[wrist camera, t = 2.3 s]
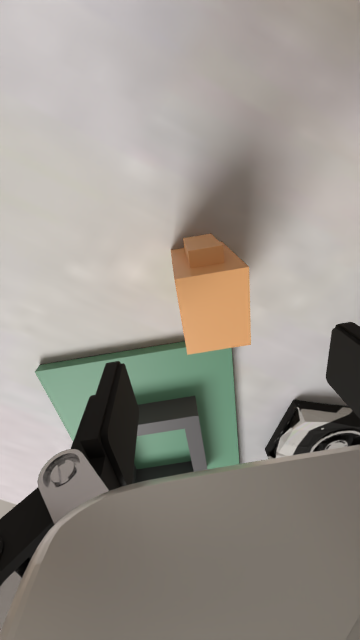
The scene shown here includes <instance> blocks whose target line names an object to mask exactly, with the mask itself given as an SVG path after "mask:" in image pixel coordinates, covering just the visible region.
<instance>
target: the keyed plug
mask: <svg viewBox="0 0 360 640" xmlns="http://www.w3.org/2000/svg"><path fill="white" fill-rule="evenodd" d="M183 242H184V248H180V249H174V250H171V256H172V264H173V271H174V279H175V285H176V291H177V297H178V303H179V308H180V314H181V320H182V326H183V332H184V338H185V344H186V349H187V355H189V354H196V353H202V352H208V351H214V350H220V349H226V348H233V347H239V346H245V345H251V333H250V288H249V266H248V265H246V264H245V263H244V262H243V261H242V260H241V259H240V258H239V257H238V256H237V255H236V254H235V253H234V252H232V251H231V250H230V249H229V248H228V247H227V246H226V245H225V244H224V243H223V242H222V241H221V242H219V241H218V240H217V239H216V238H215V237H214V236H213V235H212V234H205V235H199V236H193V237H187V238H183Z"/></svg>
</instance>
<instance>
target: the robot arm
mask: <svg viewBox="0 0 360 640" xmlns="http://www.w3.org/2000/svg"><path fill="white" fill-rule="evenodd" d="M326 379H327V382H328V383H329V385H330V386H331V387H332V388H333V389H334V390H335V392H336V393H337V394H338V395H339V396H340V397H341V398H342V399H343V401H344V402H345V403H346V404H347V405H348V406H349V407H350V408H351V410H352V411H353V412H354V413H355V414H356V415H357V416H358V417H359V419H360V327H359V326H358V325H356V324H355V323H353V322H348V323H342V324H338V325H336V327H335V328H334V329H333V330H332V335H331V342H330V349H329V357H328V364H327V372H326ZM138 421H139V408H138V404H137V401H136V398H135V395H134V392H133V388H132V385H131V382H130V379H129V375H128V372H127V369H126V366H125V364H124V363H122V364H121V363H120V361H115V362H109V363H106V364H105V367H104V370H103V373H102V376H101V379H100V382H99V385H98V388H97V391H96V394H95V395H91V396H90V397H89V399H88V402H87V405H86V408H85V410H84V413H83V416H82V419H81V422H80V424H79V427H78V430H77V433H76V436H75V438H74V441H73V444H72V447H71V449H68V450H65V451H62V452H60V453H58V454H56V455H55V456H53V457H52V458H51V459H50V460H49V461H48V462H47V463H46V464H45V465H44V467H43V468H42V470H41V472H40V474H39V477H38V481H37V482H38V488H37V489H35V490H34V491H33V492H32V493H31V494H30V495H28V496H27V497H26V498H25V499H24V500H22V501H21V502H20V503H19V504H18V505H16V506H15V507H14V508H13V509H12V510H11V511H9V512H8V513H7V514H6V515H5V516H3V517H2V518H1V519H0V630H1V631H0V640H360V445H354V446H348V447H341V448H335V449H329V450H322V451H316V452H310V453H304V454H298V455H292V456H285V457H279V458H273V459H267V460H261V461H255V462H249V463H243V464H237V465H231V466H225V467H219V468H213V469H207V470H201V471H195V472H189V473H184V474H179V475H173V476H168V477H163V478H157V479H152V480H147V481H142V482H138V483H134V484H132V479H133V469H134V460H135V450H136V440H137V430H138Z"/></svg>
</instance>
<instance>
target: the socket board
mask: <svg viewBox="0 0 360 640" xmlns="http://www.w3.org/2000/svg"><path fill="white" fill-rule="evenodd" d="M115 361H120V363H121V364H122V363H124V364H125V366H126V369H127V372H128V375H129V379H130V382H131V385H132V388H133V392H134V395H135V398H136V401H137V404H138V408H139V421H138V430H137V440H136V450H135V460H134V469H133V479H132V484H134V483H138V482H142V481H147V480H152V479H157V478H163V477H168V476H173V475H179V474H184V473H189V472H195V471H201V470H207V469H213V468H219V467H225V466H231V465H237V464H239V452H238V437H237V422H236V407H235V392H234V377H233V362H232V348H226V349H220V350H214V351H208V352H202V353H196V354H189V355H187V349H186V344H185V341H184V342H178V343H171V344H165V345H159V346H153V347H147V348H141V349H135V350H129V351H122V352H116V353H110V354H104V355H98V356H92V357H86V358H80V359H73V360H67V361H61V362H55V363H49V364H43V365H39V367H38V368H37V370H36V371H35V373H36V375H37V377H38V378H39V380H40V382H41V384H42V386H43V388H44V389H45V391H46V393H47V395H48V397H49V398H50V400H51V402H52V404H53V406H54V408H55V409H56V411H57V413H58V415H59V417H60V419H61V420H62V422H63V424H64V426H65V428H66V429H67V431H68V433H69V435H70V437H71V439H72V440H73V441H74V438H75V436H76V433H77V430H78V427H79V424H80V422H81V419H82V416H83V413H84V410H85V408H86V405H87V402H88V399H89V397H90V396H91V395H95V394H96V391H97V388H98V385H99V382H100V379H101V376H102V373H103V370H104V367H105V364H106V363H109V362H115Z"/></svg>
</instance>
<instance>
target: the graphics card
mask: <svg viewBox="0 0 360 640" xmlns="http://www.w3.org/2000/svg"><path fill="white" fill-rule="evenodd" d="M295 410H296V411H295ZM354 445H360V419H359V417H358V416H357V415H356V414H355V413H354V412H353V411H352V410H351V408H350V407H347V406H339V405H328V404H321V403H314V402H306V401H299V400H293V401H292V403H291V405H290V406H289V408H288V410H287V412H286V413H285V415H284V417H283V418H282V420H281V422H280V424H279V425H278V427H277V429H276V431H275V432H274V434H273V436H272V437H271V439H270V441H269V443H268V444H267V446H266V448H265V451H266V454H267V456H268V459H273V458H279V457H285V456H292V455H298V454H304V453H310V452H316V451H322V450H329V449H335V448H341V447H348V446H354Z"/></svg>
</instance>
